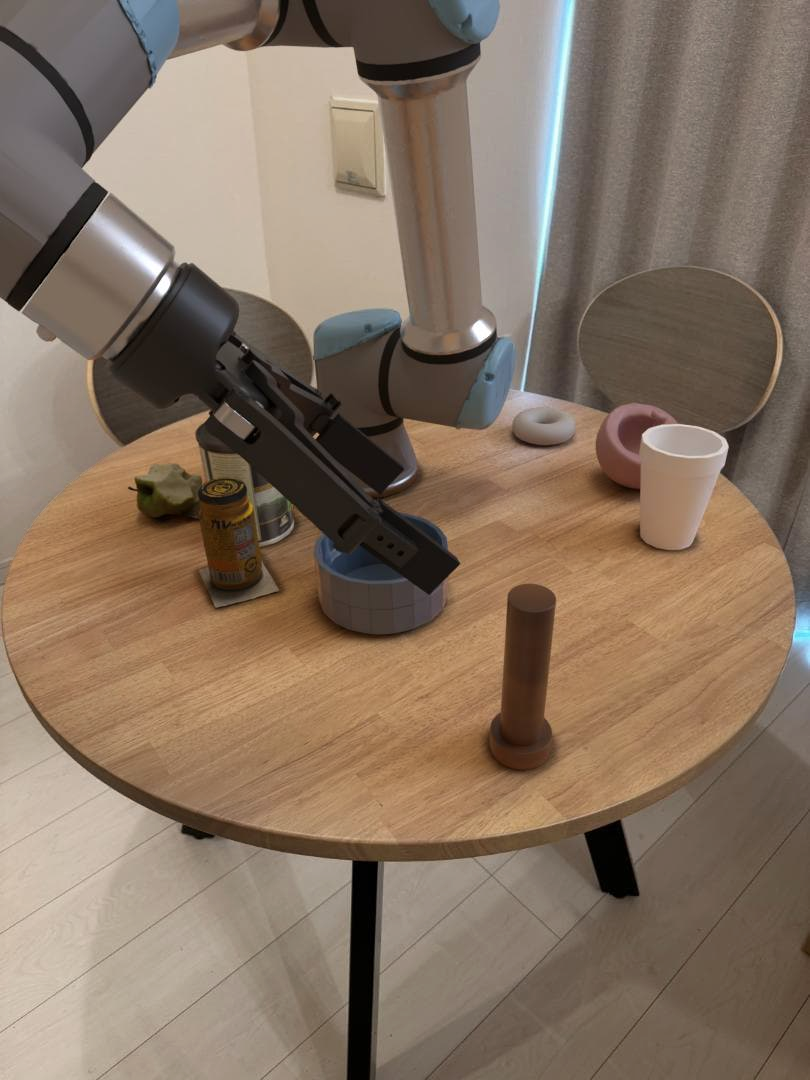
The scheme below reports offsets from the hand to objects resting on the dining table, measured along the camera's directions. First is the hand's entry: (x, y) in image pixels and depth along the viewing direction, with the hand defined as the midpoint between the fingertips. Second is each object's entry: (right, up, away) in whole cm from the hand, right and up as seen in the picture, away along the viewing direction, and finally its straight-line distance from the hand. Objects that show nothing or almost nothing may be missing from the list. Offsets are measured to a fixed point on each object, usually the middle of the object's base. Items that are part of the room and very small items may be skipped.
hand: (414, 523), depth 50 cm
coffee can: (-20, 0, +46) cm, 50 cm away
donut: (+21, +15, +68) cm, 73 cm away
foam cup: (+32, -1, +42) cm, 53 cm away
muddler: (+9, -19, +14) cm, 25 cm away
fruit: (-32, +3, +50) cm, 60 cm away
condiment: (-20, -6, +36) cm, 42 cm away
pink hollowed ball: (+32, +7, +54) cm, 63 cm away
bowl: (-3, -8, +32) cm, 33 cm away
